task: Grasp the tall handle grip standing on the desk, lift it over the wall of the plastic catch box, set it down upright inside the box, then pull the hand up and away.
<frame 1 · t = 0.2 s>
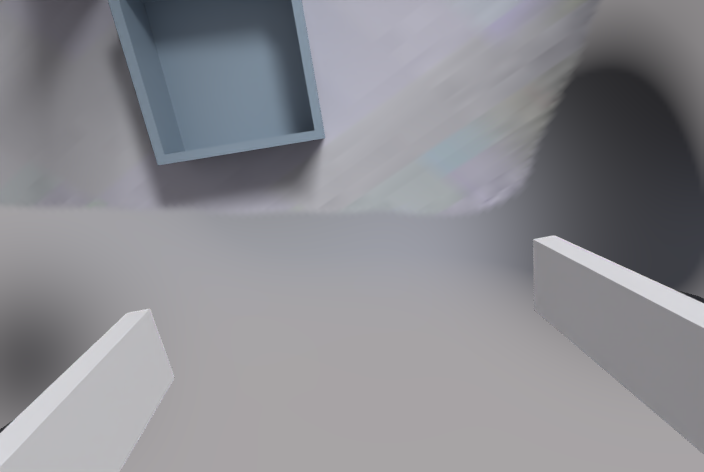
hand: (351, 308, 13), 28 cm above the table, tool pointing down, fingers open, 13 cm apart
catch box: (236, 72, 36), on the table
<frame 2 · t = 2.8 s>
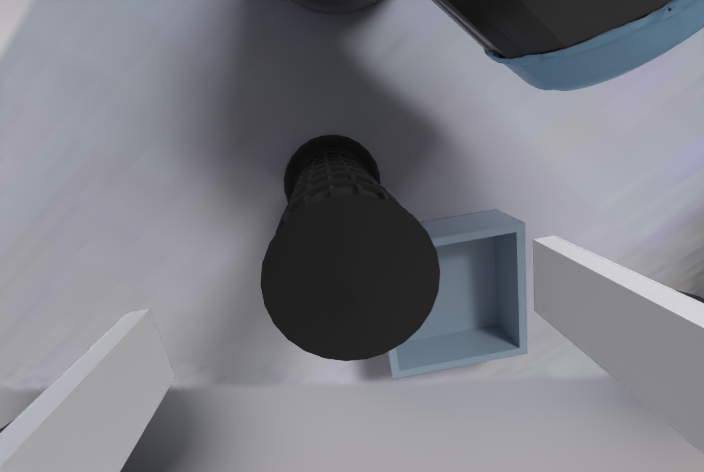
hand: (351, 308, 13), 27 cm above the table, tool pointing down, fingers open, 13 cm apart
catch box: (437, 280, 42), on the table
handle grip: (332, 184, 39), on the table
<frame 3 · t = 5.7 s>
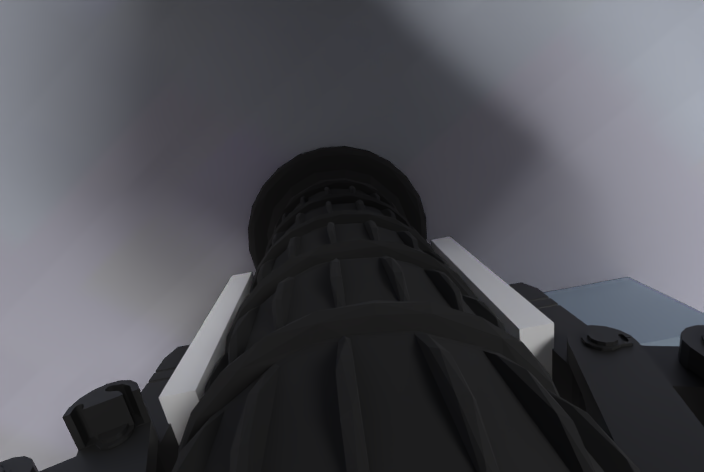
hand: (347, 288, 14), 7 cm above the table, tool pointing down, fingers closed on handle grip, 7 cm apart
catch box: (517, 395, 25), on the table
handle grip: (338, 237, 21), on the table, touching gripper
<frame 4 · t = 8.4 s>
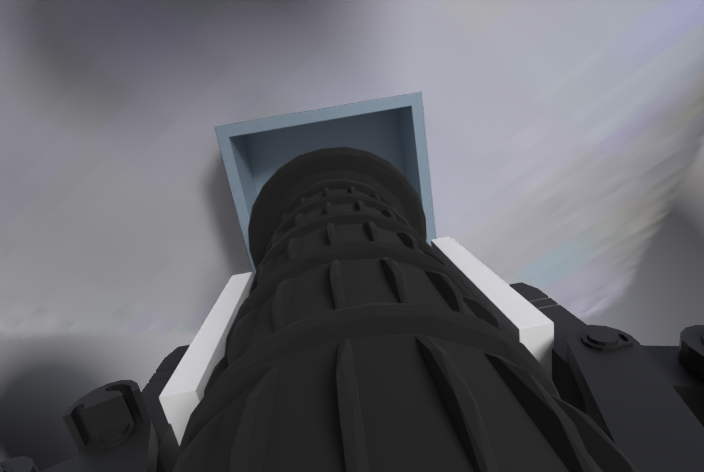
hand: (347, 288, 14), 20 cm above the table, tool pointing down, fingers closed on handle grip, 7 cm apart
catch box: (334, 196, 33), on the table
handle grip: (338, 238, 21), point 13 cm above the table, touching gripper
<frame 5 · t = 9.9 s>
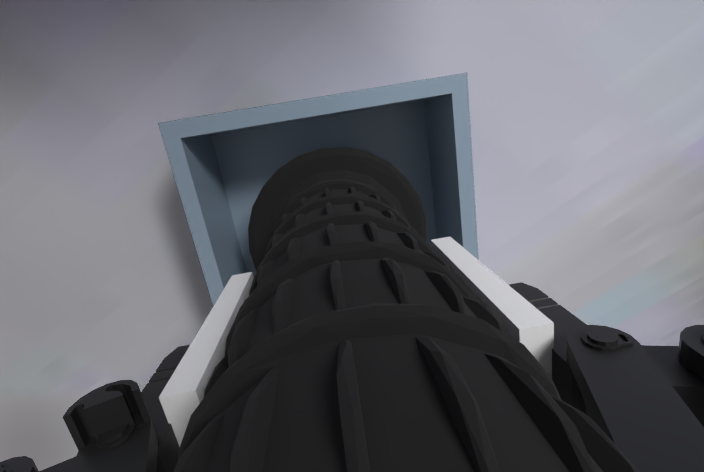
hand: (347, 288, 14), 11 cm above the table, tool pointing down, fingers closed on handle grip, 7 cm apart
catch box: (336, 217, 25), on the table
handle grip: (338, 238, 21), point 4 cm above the table, touching gripper
when the fingers open (9 cm above the table, at t = 11.1 s): handle grip drops 2 cm, resting on catch box.
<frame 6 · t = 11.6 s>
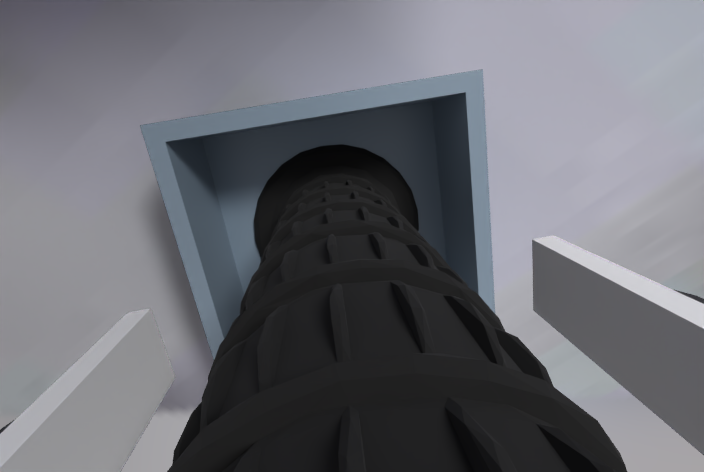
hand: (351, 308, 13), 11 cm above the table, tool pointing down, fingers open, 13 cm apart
catch box: (337, 226, 23), on the table
handle grip: (337, 228, 23), point 1 cm above the table, touching catch box
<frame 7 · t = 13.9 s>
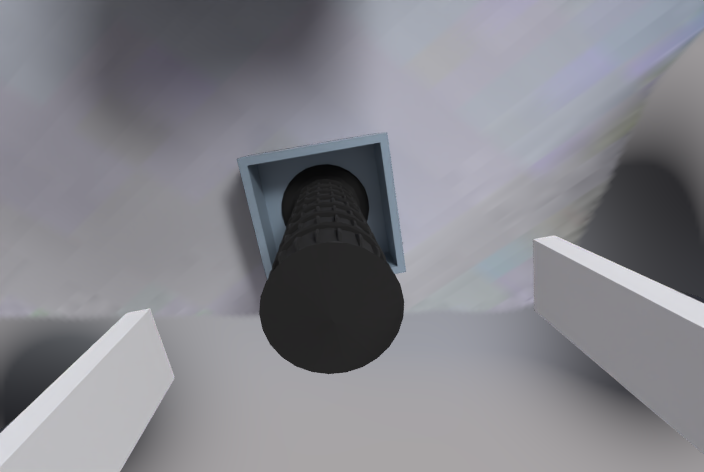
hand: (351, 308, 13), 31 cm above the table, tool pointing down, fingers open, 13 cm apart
catch box: (325, 207, 43), on the table
handle grip: (325, 208, 42), point 1 cm above the table, touching catch box
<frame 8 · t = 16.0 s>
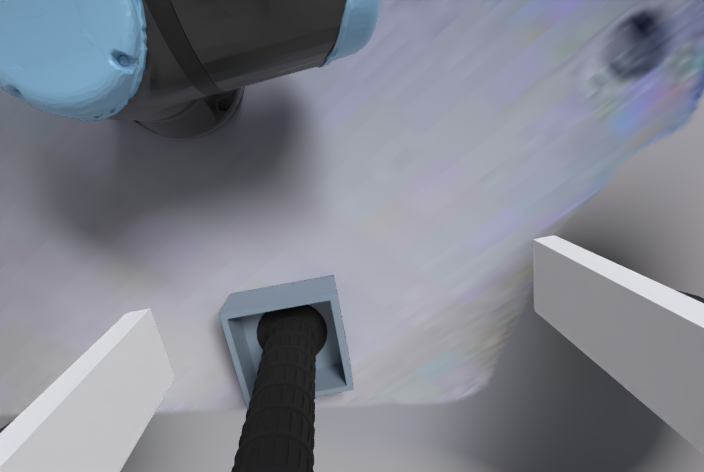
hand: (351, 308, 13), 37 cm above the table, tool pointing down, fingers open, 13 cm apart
catch box: (292, 329, 53), on the table
handle grip: (292, 332, 53), point 1 cm above the table, touching catch box
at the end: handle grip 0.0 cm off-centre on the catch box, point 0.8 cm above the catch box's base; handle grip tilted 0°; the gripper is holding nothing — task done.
